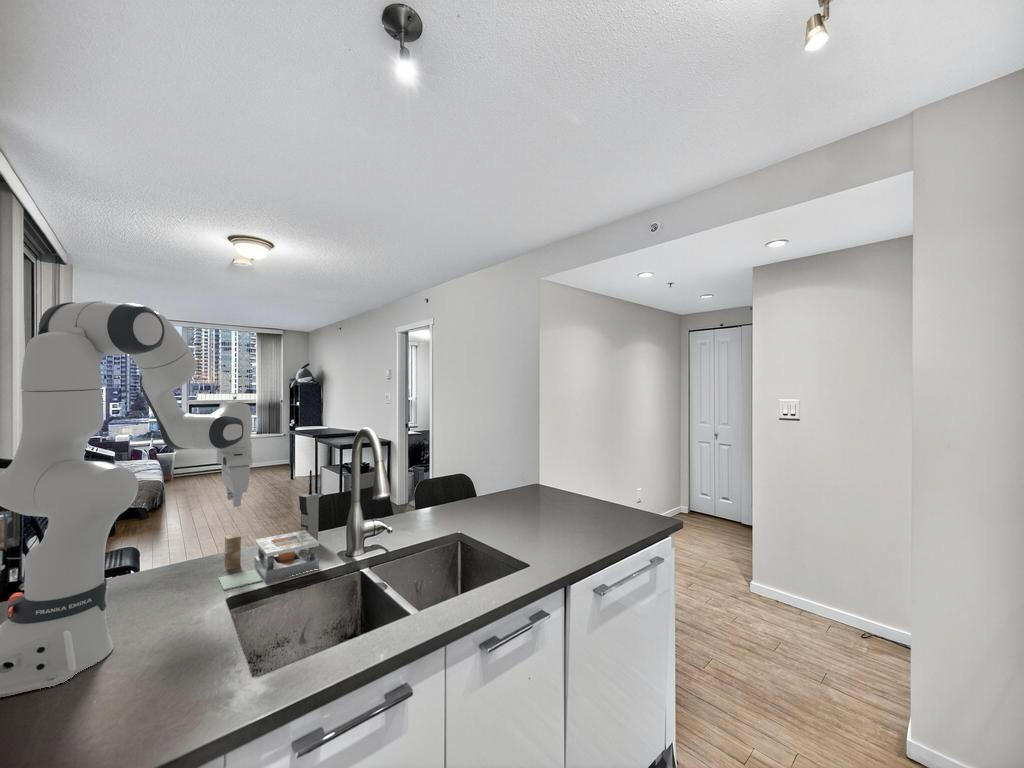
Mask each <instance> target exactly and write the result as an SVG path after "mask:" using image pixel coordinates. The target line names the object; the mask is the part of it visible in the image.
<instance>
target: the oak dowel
mask: <svg viewBox="0 0 1024 768" xmlns="http://www.w3.org/2000/svg"><path fill="white" fill-rule="evenodd" d="M241 540H242V536H241V534H240V533H234V534H228V535H227V534H226V535H225V536H224V568H225V570H226V571H228V570H232V569H237V568H240V567H241V556H242V553H241V551H242V545H241V544H242V541H241ZM225 552H226V553H225Z"/></svg>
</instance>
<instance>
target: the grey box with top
mask: <svg viewBox="0 0 1024 768" xmlns="http://www.w3.org/2000/svg"><path fill="white" fill-rule="evenodd" d="M291 540H297V542H294V543H291V544H289V543H288V544H289V545H284V546H280V545H278V546H276V544H277V543H282V542H285V541H291ZM275 543H276V544H275ZM254 544H255V545H256V547H258V555H255V556H254V568H255V570H256V571H257V573H258V574H259V576H260V577H261V579H262V581H263V582H264V583H265V584H267V583H269V582H270V581H271V582H274V580H275V581H279V580H283V579H286V578H285V577H287V578H290V577H289V576H291V577H293V576H292V575H295V576H297V575H296V574H299V573H303V572H306V571H310V570H314V569H318V568H319V567H320V559H319V558H318V557H317V556H316V547H320V542H319V540H318V541H317V540H316V539H315V538H313V537H312V536H311V535H310V534H309V533H308V532H306V531H305V530H303V531H301V530H298V531H293V532H288V533H282V534H277V535H273V536H267V537H260V538H256V539H254ZM293 551H295V559H294V560H292V561H288V562H283V563H281V562H278V555H279V554H283V553H288V552H293ZM299 575H300V574H299ZM282 578H283V579H282ZM278 579H279V580H278ZM266 582H267V583H266Z"/></svg>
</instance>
